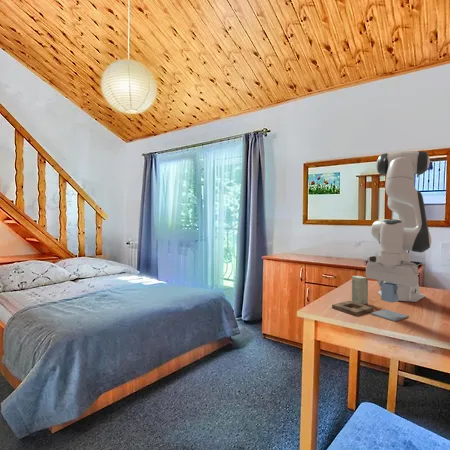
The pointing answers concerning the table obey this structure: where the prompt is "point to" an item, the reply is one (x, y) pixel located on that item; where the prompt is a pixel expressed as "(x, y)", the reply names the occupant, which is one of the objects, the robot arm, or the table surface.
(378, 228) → the robot arm
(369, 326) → the table surface
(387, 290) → the blue block
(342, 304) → the walnut stand
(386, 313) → the ceramic pad
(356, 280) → the skincare box
